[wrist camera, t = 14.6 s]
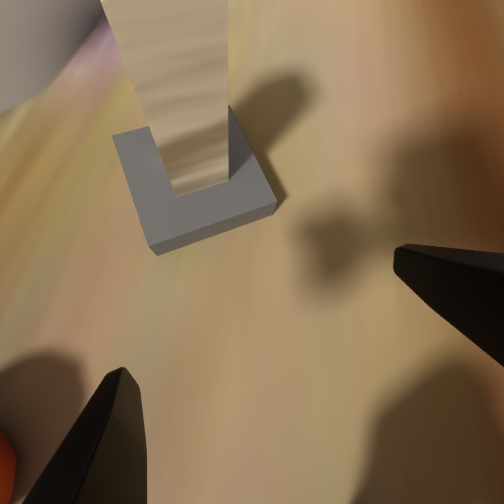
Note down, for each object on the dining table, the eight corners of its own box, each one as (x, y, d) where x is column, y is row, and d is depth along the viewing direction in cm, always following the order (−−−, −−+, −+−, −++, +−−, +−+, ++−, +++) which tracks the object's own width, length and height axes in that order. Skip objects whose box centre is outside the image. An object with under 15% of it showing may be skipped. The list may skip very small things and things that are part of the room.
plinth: (272, 214, 24) (277, 201, 22) (157, 255, 22) (148, 246, 20) (229, 125, 27) (229, 105, 24) (123, 154, 25) (112, 135, 22)
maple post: (228, 180, 22) (227, -19, 10) (176, 197, 21) (100, 1, 9) (209, 139, 23) (186, -87, 11) (159, 153, 22) (71, -75, 10)
